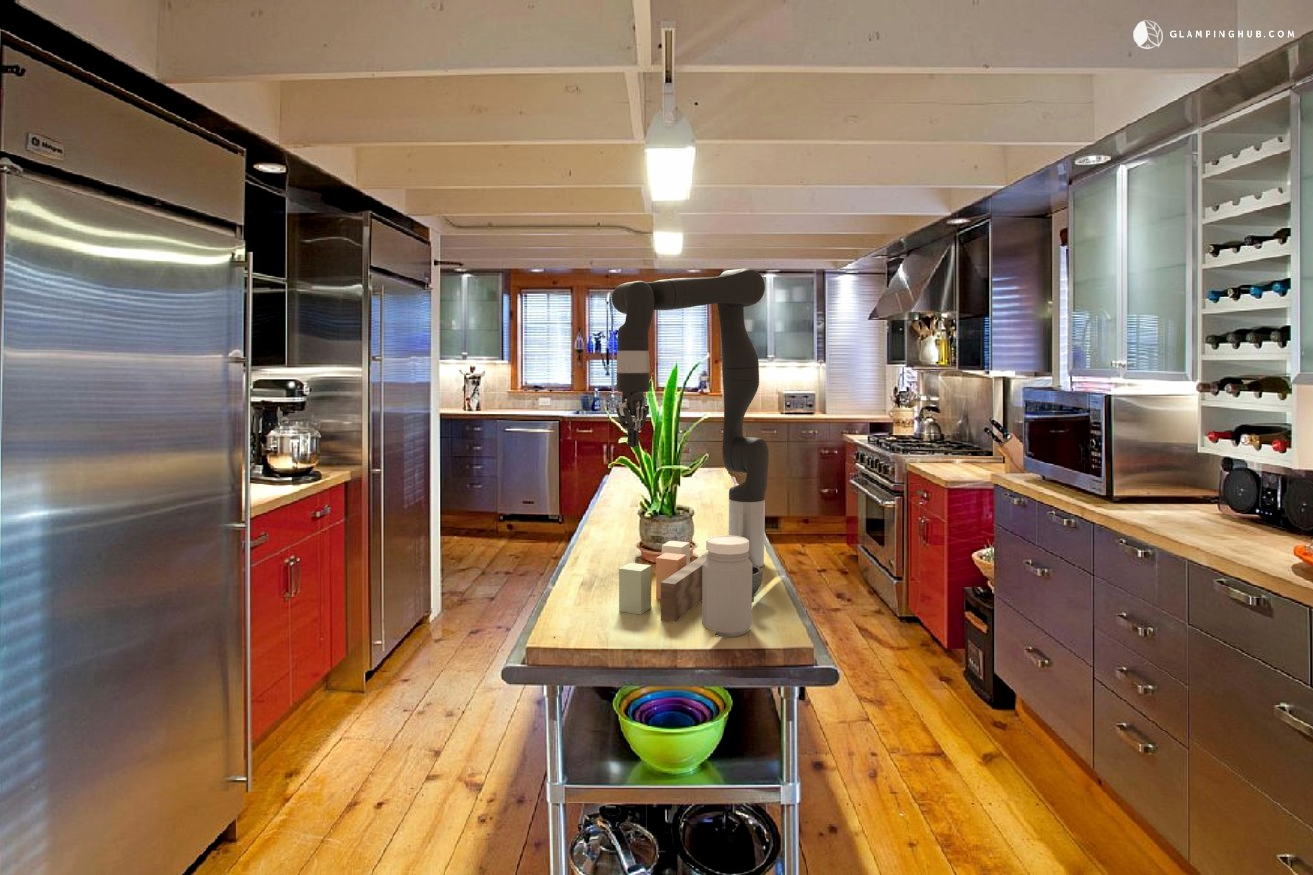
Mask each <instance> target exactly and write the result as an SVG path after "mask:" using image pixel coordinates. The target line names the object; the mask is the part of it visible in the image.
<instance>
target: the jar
mask: <svg viewBox="0 0 1313 875" xmlns="http://www.w3.org/2000/svg"><path fill="white" fill-rule="evenodd" d="M705 550H707V554H706V556H707V559H706V560H705V561H704V563H703V568H702V601H701V603H702V604H701V611H702V612H701V616H702V617H701V625H703V626H704V627H705V628H706V629H709V630H712V631H715V632H716V633H715V634H714V636H717V637H725V638H726V637H727V638H734V637H740V636H742V635H746V634H747V633H748V632H749V630H750V629H751V628H752V624H753V623H752V622H753V620H752V619H753V618H752V617H753V616H752V615H753V602H752V598H753V596H752V563H751V561H750V560H749V559H748V557H749V554H748V553H747V552H748V550H749V540H748V539H746V538H744V537H739V536H729V534H728V535H726V534H724V535H723V534H722V535H715V536H714V535H713V536H711V537H708V538H707V539H706V541H705Z"/></svg>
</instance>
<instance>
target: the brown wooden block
mask: <svg viewBox="0 0 1313 875" xmlns="http://www.w3.org/2000/svg"><path fill="white" fill-rule="evenodd" d="M707 552H708V551H707ZM707 552H705V553H704V554H702V555H701V556H699V557H697V558H696V559H695V560H693V561H690V564H688V565H687V566H685V567H683V568H682V569H680V570H679V571H677V572H676V573H674V574H673V575H671V576H670V577H668V578H667V579H665V580H664V581H662V582H661V599H660V621H663V622H671V623H676V622H678V620H680V619H681V618H682V617H684V616H685V615H686V614H687V613H688V612H689V611H691V610H693V608H695V607H696V606H697V605H698V604H700V603H702V568H703V563H704V561H705V560H706V559H707V556H706V554H707Z"/></svg>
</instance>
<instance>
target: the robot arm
mask: <svg viewBox="0 0 1313 875" xmlns="http://www.w3.org/2000/svg"><path fill="white" fill-rule="evenodd" d="M765 290H766V284H765V280H764V277H763V276H762V275H761V273H759V272H758V270H757V271H756V270H755V269H753V268H738V269H729V270H725V271H723V272H721V274H720V275H718V276H713V277H710V276H709V277H682V278H681V277H680V278H665V279H660V280H654V281H650V282H646V281H643V280H636V281H631V282H625V283H621V284H619V285H618V286H616V287H615V289H614V290H613V291H612V294H611V303H612V305H613V308H614V309H615V310H616V311H618V312H619V313H621V314H624V315H625V321H624V323H623V324H622V325H620V326H619V327H618V329H617V355H616V356H617V357H616V391H617V392H618V393H622V396H621V405H620V407H619V406H617V407H616V410H615V411H616V414H617V416H618V419H619V422H620V425H621V427H622V428H623V429H625V430H626V431H627V447H628V448H638V447H639V445H640V431H641V428H644V426H645V423H646V420H647V415H648V412H649V410H650V405H649V404H646V403H645V394H644V393H648V392H649V391H650V387H651V384H650V383H651V381H650V378H651V377H650V376H651V375H650V372H651V371H650V365H651V364H650V354H649V331H650V327H651V324H652V319H653V314H654V311H673V310H681V309H682V310H683V309H688V308H694V307H700V306H708V305H714V304H717V305H716V306H717V313H718V318H719V325H720V326H719V328H720V341H721V344H720V345H721V360H722V361H721V367H722V370H721V371H722V374H721V376H722V389H723V429H722V430H723V434H722V446H721V448H722V460H723V464H724V466H725V468H726V469H727V470H728V471H730V472H733V473H734V472H735V473H743V474H746V476H745V481H743V482H742V483H740V484H737V485H733V486H731V487H730V488H729V490H728V535H729V536H739V537H744V538H746V539H748V540H749V550H748V552H747V553H748V554H749V556H750V561H751V563H752V566H755V567H759V568H762V567H764V565H765V523H766V522H765V518H766V517H765V516H766V515H765V513H766V512H765V509H766V508H765V506H766V504H765V503H766V502H765V501H766V491H767V487H768V473H769V472H768V471H769V458H770V455H769V446H768V444H767V441H766V440H765V439H763V438H760V437H755V436H754V437H752V436H751V437H750V436H744V435H743V434H744V433H743V427H744V426H743V425H744V420H745V419H744V418H745V416H746V412H747V410H748V408H749V407H750V405H751V403H752V402H753V400H754V398H755V396H756V394H757V392H758V389H759V385H760V367H759V366H760V365H759V358H758V354H757V351H756V349H755V347H754V345H753V342H752V340H751V338H750V337H749V334H748V331H747V329H746V324H745V313H744V311H745V310H744V308H745V307H751V306H753V305H756V304H757V303H758V302H760V301H761V299H763V296H764V294H765Z"/></svg>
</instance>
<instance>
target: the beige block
mask: <svg viewBox="0 0 1313 875" xmlns="http://www.w3.org/2000/svg"><path fill="white" fill-rule="evenodd" d="M664 553H674V554H683V555H686V566H687V565H688V564H690V563H691V559H690V558H691V557H690V556H691V542H688V541H675V540H669V541H667V542H666V543H663V544H661V555H662V554H664Z"/></svg>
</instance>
